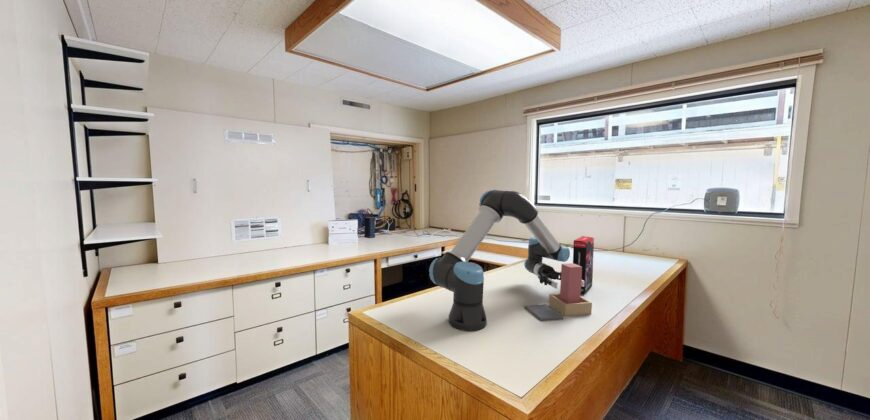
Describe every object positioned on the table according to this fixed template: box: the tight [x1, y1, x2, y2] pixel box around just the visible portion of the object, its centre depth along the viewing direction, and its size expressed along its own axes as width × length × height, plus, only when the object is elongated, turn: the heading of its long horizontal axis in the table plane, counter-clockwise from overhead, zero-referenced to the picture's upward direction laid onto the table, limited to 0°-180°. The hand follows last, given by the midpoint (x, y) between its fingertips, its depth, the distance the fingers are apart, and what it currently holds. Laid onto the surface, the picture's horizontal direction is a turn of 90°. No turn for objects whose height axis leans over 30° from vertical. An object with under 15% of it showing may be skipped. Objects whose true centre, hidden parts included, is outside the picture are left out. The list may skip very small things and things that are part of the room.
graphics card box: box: [572, 235, 595, 295], centre depth 172 cm, size 17×7×27 cm, turn 143°
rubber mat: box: [524, 303, 564, 322], centre depth 141 cm, size 10×14×1 cm
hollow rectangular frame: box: [548, 293, 593, 317], centre depth 146 cm, size 13×13×5 cm
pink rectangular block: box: [559, 262, 582, 304], centre depth 145 cm, size 6×6×20 cm
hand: (570, 284), depth 146 cm, fingers open, 13 cm apart
